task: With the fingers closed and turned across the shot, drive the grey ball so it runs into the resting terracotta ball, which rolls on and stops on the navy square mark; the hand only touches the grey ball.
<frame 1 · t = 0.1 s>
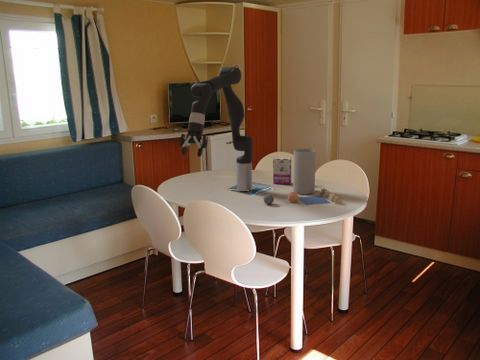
hand: (191, 155, 222), 31 cm above the table, tool tilted 20°, fingers open, 8 cm apart
grey ball: (268, 199, 248), on the table
stopper: (329, 198, 257), on the table
candy bar box: (282, 183, 292), on the table
cylinder vase: (303, 192, 272), on the table
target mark: (313, 200, 255), on the table
object ball: (293, 197, 251), on the table
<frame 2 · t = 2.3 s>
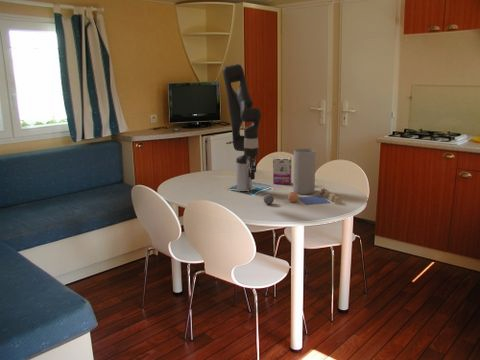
hand: (251, 178, 243), 15 cm above the table, tool pointing down, fingers open, 4 cm apart
nothing on the table moved.
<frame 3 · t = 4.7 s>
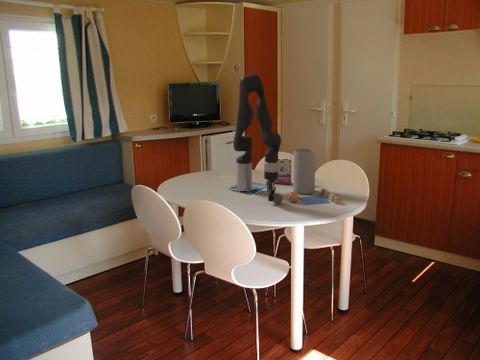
hand: (270, 201, 249), 2 cm above the table, tool pointing down, fingers closed
grey ball: (277, 198, 249), on the table, touching gripper
everything else where it was.
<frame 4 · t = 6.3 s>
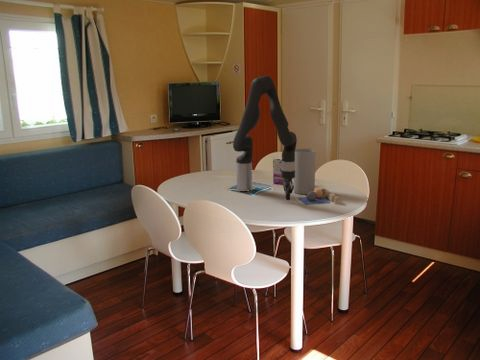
hand: (287, 199, 251), 2 cm above the table, tool pointing down, fingers closed
grey ball: (311, 196, 253), on the table
object ball: (317, 193, 257), on the table
everything else where it was.
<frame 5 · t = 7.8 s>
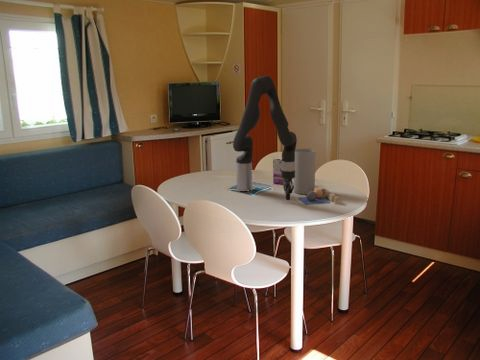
hand: (287, 199, 251), 2 cm above the table, tool pointing down, fingers closed
nothing on the table moved.
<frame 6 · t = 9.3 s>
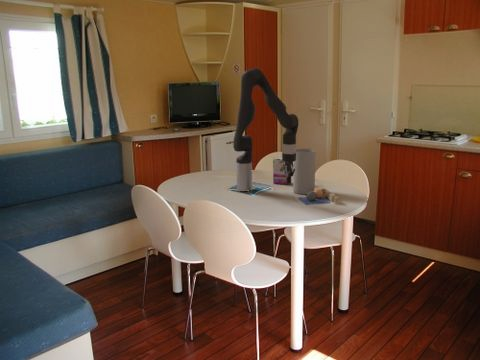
hand: (288, 183, 249), 11 cm above the table, tool pointing down, fingers closed
nothing on the table moved.
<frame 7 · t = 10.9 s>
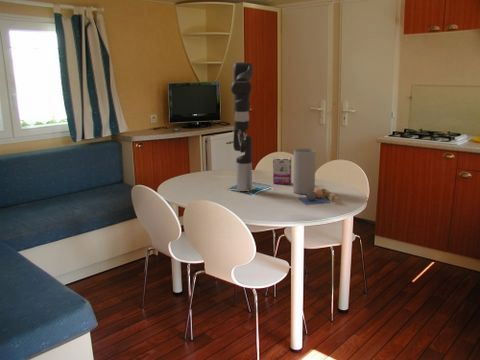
hand: (242, 152, 245), 28 cm above the table, tool pointing down, fingers closed
nothing on the table moved.
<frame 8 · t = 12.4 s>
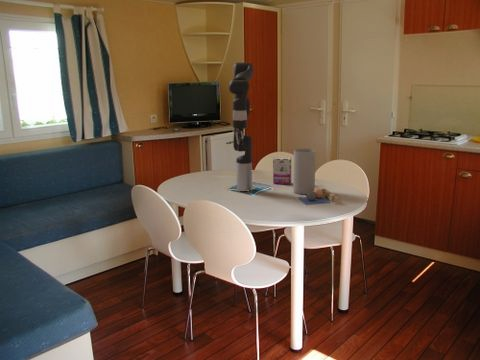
hand: (240, 151, 245), 29 cm above the table, tool pointing down, fingers closed
nothing on the table moved.
at the end: object ball 4.8 cm from the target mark (horizontally); object ball never touched the robot; grey ball first touched object ball at 4.9 s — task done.
